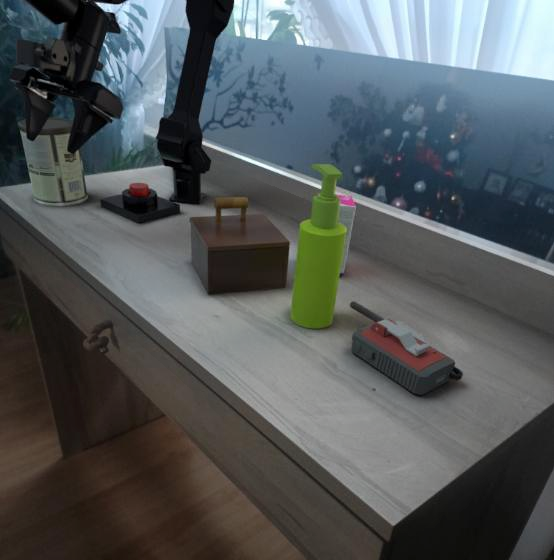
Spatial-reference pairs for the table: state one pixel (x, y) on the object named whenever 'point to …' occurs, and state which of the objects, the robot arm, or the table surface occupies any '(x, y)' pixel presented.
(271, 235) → the lid
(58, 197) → the coffee can
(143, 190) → the button
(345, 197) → the supplement box
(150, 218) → the button box
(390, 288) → the table surface
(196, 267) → the chest
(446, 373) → the walkie-talkie
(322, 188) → the soap dispenser
